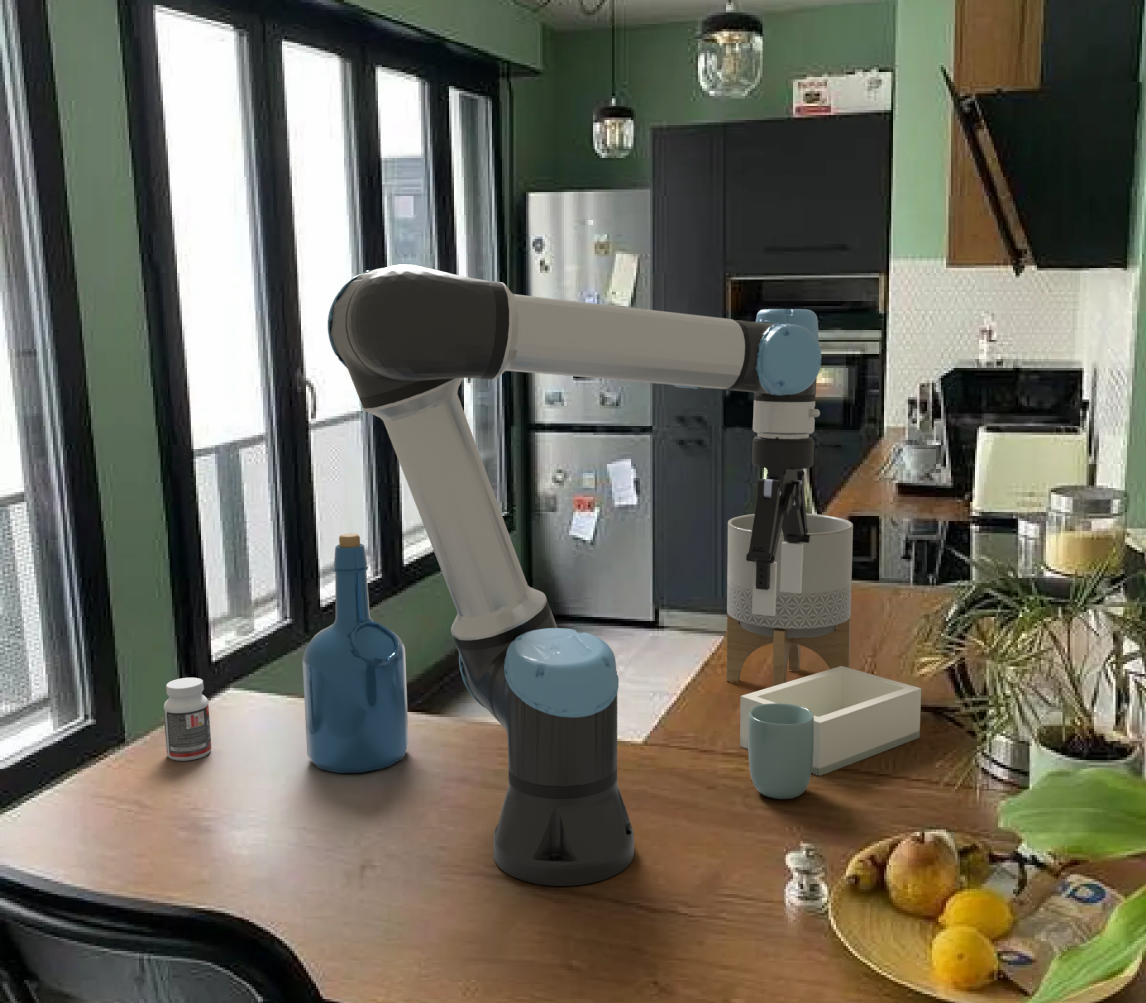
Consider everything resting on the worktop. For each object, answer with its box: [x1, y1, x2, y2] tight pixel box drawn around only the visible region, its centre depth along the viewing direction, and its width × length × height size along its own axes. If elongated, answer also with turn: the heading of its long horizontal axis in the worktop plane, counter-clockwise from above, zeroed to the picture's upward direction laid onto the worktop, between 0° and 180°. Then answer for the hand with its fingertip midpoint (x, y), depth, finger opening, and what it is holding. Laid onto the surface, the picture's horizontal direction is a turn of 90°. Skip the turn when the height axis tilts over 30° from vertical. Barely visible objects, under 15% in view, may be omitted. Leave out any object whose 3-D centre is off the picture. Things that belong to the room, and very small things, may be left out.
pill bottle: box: [163, 677, 212, 762], centre depth 151 cm, size 6×6×10 cm
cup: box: [747, 703, 814, 800], centre depth 137 cm, size 8×8×10 cm
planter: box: [726, 513, 854, 687], centre depth 176 cm, size 19×19×26 cm
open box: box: [739, 666, 922, 777], centre depth 153 cm, size 21×14×7 cm, turn 128°
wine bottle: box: [302, 533, 409, 774], centre depth 148 cm, size 14×13×30 cm
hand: (777, 603), depth 143 cm, fingers open, 13 cm apart
